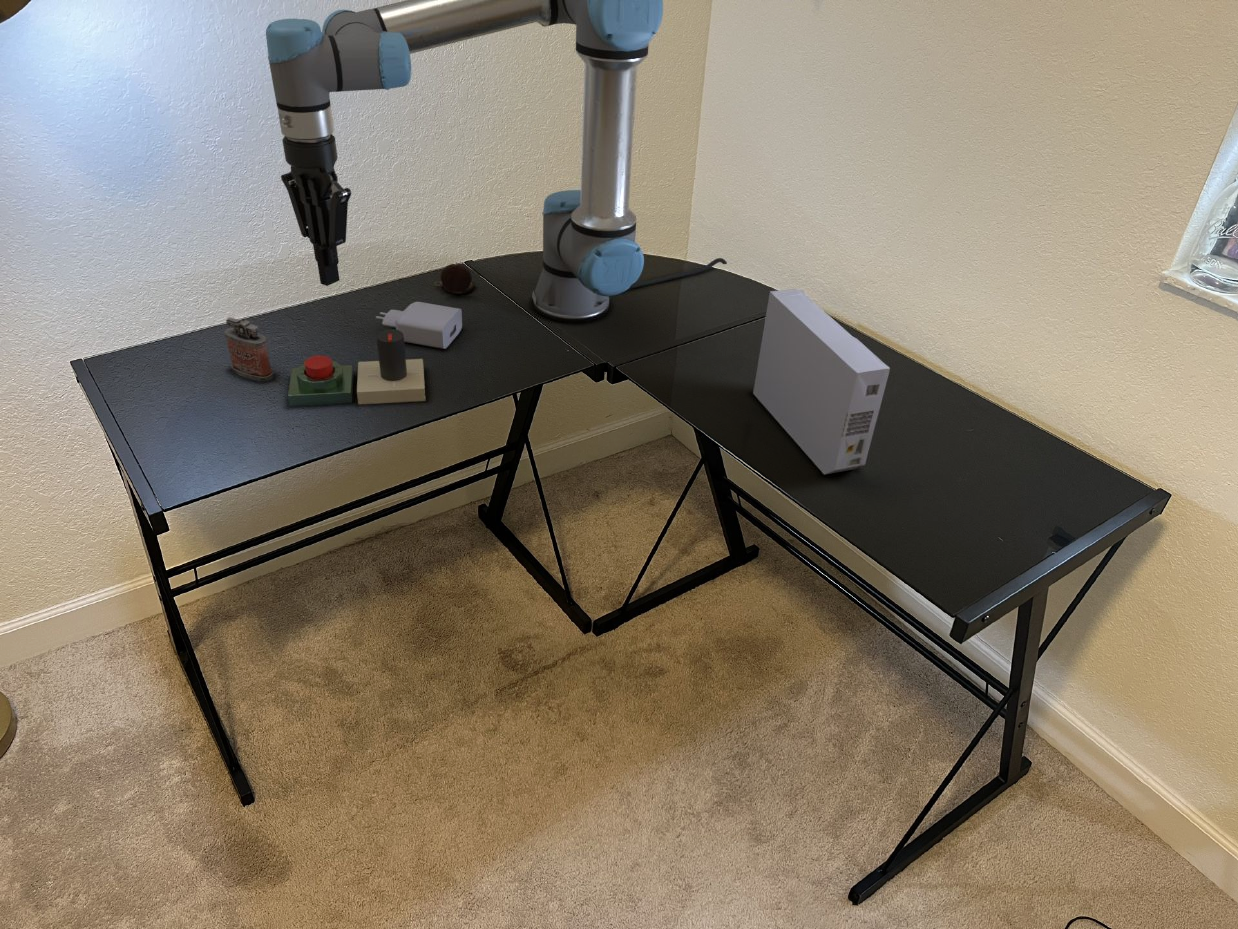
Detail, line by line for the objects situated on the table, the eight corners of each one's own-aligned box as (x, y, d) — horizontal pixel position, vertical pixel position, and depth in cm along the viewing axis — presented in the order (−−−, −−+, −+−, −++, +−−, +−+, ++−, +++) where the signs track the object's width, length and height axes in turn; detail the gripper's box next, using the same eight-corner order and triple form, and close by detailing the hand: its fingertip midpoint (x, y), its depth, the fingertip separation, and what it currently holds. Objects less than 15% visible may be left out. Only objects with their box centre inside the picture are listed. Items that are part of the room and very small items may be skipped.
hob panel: (423, 370, 167) (422, 357, 166) (425, 401, 159) (424, 387, 158) (359, 374, 165) (358, 360, 164) (358, 404, 157) (356, 391, 156)
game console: (781, 389, 169) (800, 287, 158) (863, 477, 149) (891, 367, 137) (752, 393, 167) (769, 291, 156) (831, 483, 147) (857, 373, 135)
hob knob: (380, 368, 162) (376, 328, 158) (406, 367, 163) (403, 326, 158) (380, 381, 159) (376, 340, 154) (407, 380, 160) (403, 339, 155)
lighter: (277, 375, 163) (268, 323, 158) (264, 383, 161) (254, 331, 155) (241, 363, 166) (231, 311, 160) (227, 371, 163) (216, 319, 158)
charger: (389, 316, 183) (462, 329, 181) (368, 337, 176) (443, 351, 173) (387, 293, 180) (461, 306, 178) (365, 314, 173) (442, 328, 170)
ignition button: (334, 365, 160) (332, 354, 159) (332, 378, 157) (331, 368, 156) (307, 366, 159) (305, 356, 158) (305, 380, 156) (303, 369, 155)
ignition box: (353, 375, 165) (351, 355, 162) (352, 403, 158) (349, 382, 155) (293, 378, 163) (290, 358, 160) (289, 406, 156) (285, 386, 153)
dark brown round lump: (474, 282, 197) (473, 249, 193) (471, 299, 191) (470, 265, 187) (436, 280, 197) (434, 247, 192) (431, 297, 190) (429, 264, 186)
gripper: (257, 132, 140) (284, 278, 154) (319, 151, 134) (341, 301, 148) (297, 120, 145) (319, 263, 159) (358, 138, 139) (376, 285, 153)
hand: (330, 281), depth 153 cm, fingers closed
